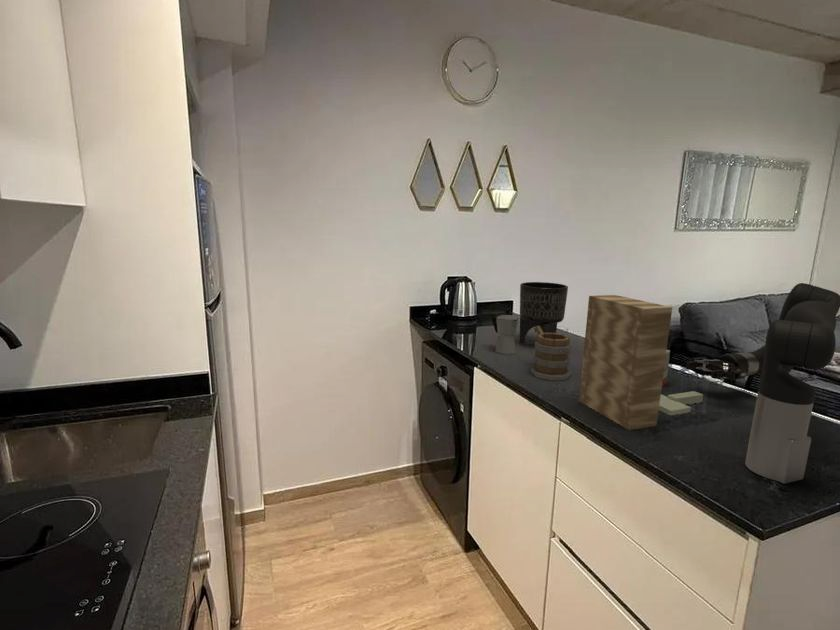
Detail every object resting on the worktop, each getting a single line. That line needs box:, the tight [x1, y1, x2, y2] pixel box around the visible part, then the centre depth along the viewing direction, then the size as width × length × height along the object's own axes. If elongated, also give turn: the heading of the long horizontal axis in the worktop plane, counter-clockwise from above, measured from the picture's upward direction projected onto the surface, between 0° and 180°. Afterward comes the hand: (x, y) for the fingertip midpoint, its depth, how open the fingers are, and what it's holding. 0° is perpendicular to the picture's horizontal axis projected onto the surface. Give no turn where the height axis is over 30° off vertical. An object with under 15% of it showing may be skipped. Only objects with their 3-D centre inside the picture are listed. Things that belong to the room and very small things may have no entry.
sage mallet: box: [659, 390, 704, 416], centre depth 135 cm, size 12×17×2 cm
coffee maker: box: [491, 308, 520, 356], centre depth 185 cm, size 15×9×18 cm, turn 34°
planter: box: [519, 281, 569, 344], centre depth 194 cm, size 20×20×26 cm
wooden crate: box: [578, 294, 673, 431], centre depth 124 cm, size 20×9×32 cm, turn 19°
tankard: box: [530, 326, 572, 382], centre depth 161 cm, size 20×13×15 cm, turn 9°
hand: (699, 370), depth 136 cm, fingers open, 8 cm apart
